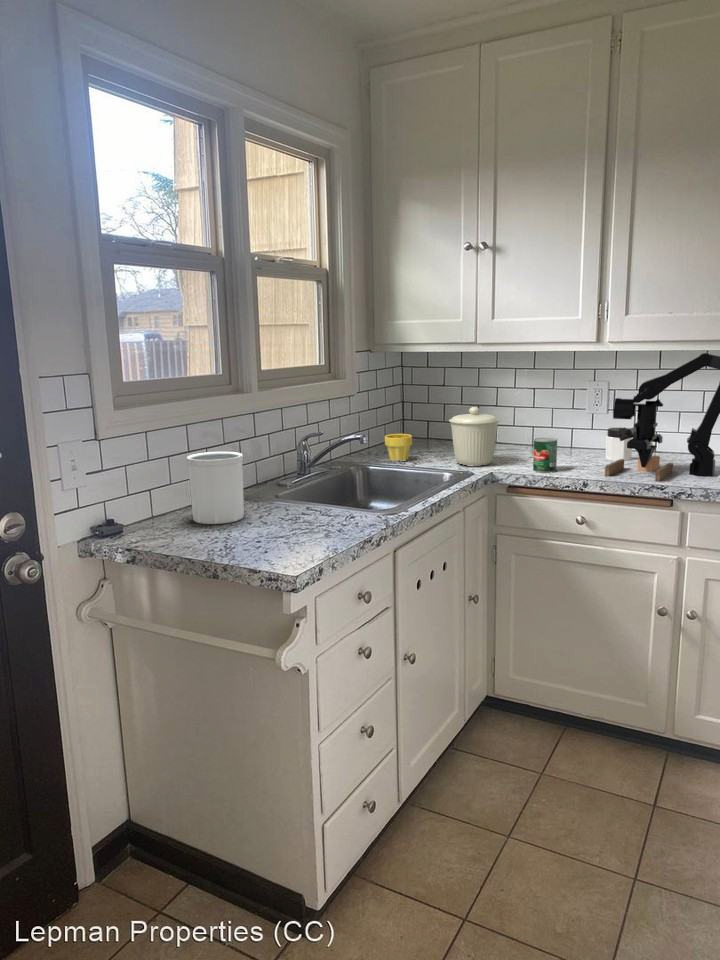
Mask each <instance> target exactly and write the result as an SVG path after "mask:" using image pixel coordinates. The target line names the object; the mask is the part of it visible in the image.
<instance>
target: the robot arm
mask: <svg viewBox="0 0 720 960" xmlns="http://www.w3.org/2000/svg"><path fill="white" fill-rule="evenodd" d="M704 367H708V368H712V369H716V370H720V355H715V354H710V353H708V352H702V353H701V354H699V356H697V357H695V358H693V359H691V360H689V361H688V362H685V363H683V364H682V365H680V366H678V367H677V368H674V369H672V370H670V371H669V372H667V373H665V374H662V375H660V376H657V377H654V378H653V377H652V378H651V379H648V380H645V381H643V382H642V383H641V384H640V385H639V387H638V392H637V394H636V395H634V396H633V397H632V398H620V397H616V398H615V399H614V404H613V405H614V406H613V409H612V418H613V420H632V418H633V417H636V410H637V418H636V420H637V421H636V422H635V423H634V424H633V427H631V428H629V429H626V428H627V427H620V428H621V429H619V432H617V433H618V435H617V437H619V438H620V441H623V440H625V439H628V438H632V439H631V440H629V441H628V442H627V448H630V449H632V450H635V451H637V453H638V457H639V458H640V462H641V467H644V468H645V467H646V465H647V463H648V461H649V460H650V458H651V456H653V454H654V452H655V451H656V448H658V447H657V445H654V444H653V443H658V444H662V443H663V435H661V433H656V427H658V422H657V411H658V410H657V409H658V408H659V407H660V408H661V407H664V403H663V402H662V401H661V399H660V398H657V399H656V400H653V399H654V398H656V397H657V396H658V395H659V394H661V393H662V392H663V391H664V390H666V389H667V388H668V387H670V386H671V385H673V384H674V383H676V382H678V381H680V380H682V379H684V378H685V377H688V376H689V375H691V374H693V373H695V372H697V371H699V370H700V369H703V368H704ZM644 400H645V403H641V402H642V401H644ZM719 415H720V381H719V383H718V386H717V388H716V390H715V392H714V394H713V396H712V398H711V401H710V403H709V406H708V408H707V409H706V412H705V414H704V416H703V418H702V420H701V423H700V424H699V426H698V427H697V428H696V429H695V427H694V428H693V427H692V428H691V430H690V435H689V436H688V437H687V438H686V443H687V451H688V453H690V454H691V455H692V456H694V457H693V458H692V459H691V462H690V463H689V470H688V471H689V475H690V476H695V477H702V478H706V477H710V478H712V477H714V476H715V472H716V470H715V469H716V459H714V458H715V451H714V450H713V449H712V448H711V447H710V446H709V444H710V441H711V436H712V432H713V428H714V427H715V424H716V422H717V420H718V418H719V417H720V416H719Z"/></svg>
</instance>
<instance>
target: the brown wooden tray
mask: <svg viewBox="0 0 720 960" xmlns="http://www.w3.org/2000/svg"><path fill="white" fill-rule="evenodd" d="M604 467H605V468H604V470H605V471H604V477H605V478H606V477H607V478H609V477H612V476H613V475H615V474H617V473H619V472H621V471H622V470H624V469H625V461H624V459H619V460H617V461H616V460H614V462H610V464H607V465H605V466H604ZM673 472H674V463H673V462H668V463H667V464H665V465H663V466H661V467H659V468H657V469H656V470H655V477H654V478H655V479H654V481H655V482H658V483H659V482H661V481H663V480H664V479H666V478H667V477H669V476H671V475H673Z"/></svg>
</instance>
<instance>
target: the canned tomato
mask: <svg viewBox="0 0 720 960" xmlns="http://www.w3.org/2000/svg"><path fill="white" fill-rule="evenodd" d="M557 457H558V439H557V438H554V437H537V438H533V459H532V461H533V463H532V465H533V466H532V467H533V468H532V471H533V472H534V471H535V473H539V474H540V473H541V474H546V473H547V474H551V472H552V473H555V471H556V472H557V461H558V460H557V459H558V458H557Z"/></svg>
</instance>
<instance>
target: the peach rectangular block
mask: <svg viewBox="0 0 720 960" xmlns="http://www.w3.org/2000/svg"><path fill="white" fill-rule="evenodd" d="M660 459H661V456H660V455H652V456H651V458H650V460H649V461H648V463H647V465H646V467H645V468H644V467H641V462H640V458H637V469H636V470H637V471H638V472H647V473H648V472H649V473H652V472H654V471H656V470H658V469H660Z"/></svg>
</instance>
